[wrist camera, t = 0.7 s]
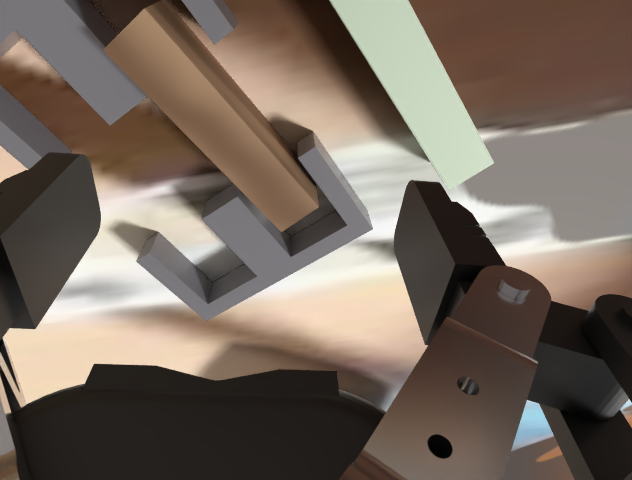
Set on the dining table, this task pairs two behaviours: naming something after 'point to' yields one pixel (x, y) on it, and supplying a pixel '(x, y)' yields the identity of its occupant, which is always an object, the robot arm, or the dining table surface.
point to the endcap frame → (221, 210)
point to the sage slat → (416, 84)
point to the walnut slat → (213, 112)
